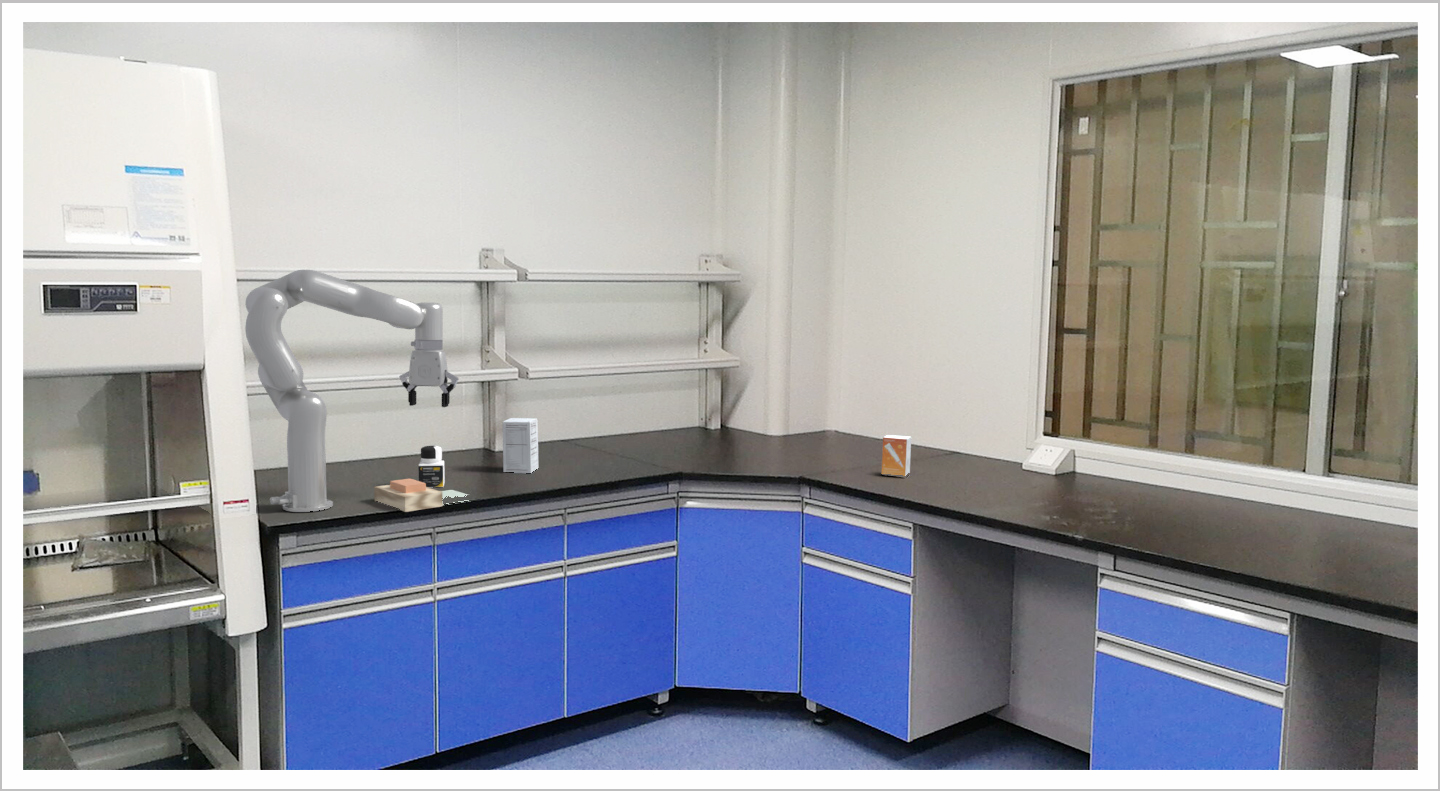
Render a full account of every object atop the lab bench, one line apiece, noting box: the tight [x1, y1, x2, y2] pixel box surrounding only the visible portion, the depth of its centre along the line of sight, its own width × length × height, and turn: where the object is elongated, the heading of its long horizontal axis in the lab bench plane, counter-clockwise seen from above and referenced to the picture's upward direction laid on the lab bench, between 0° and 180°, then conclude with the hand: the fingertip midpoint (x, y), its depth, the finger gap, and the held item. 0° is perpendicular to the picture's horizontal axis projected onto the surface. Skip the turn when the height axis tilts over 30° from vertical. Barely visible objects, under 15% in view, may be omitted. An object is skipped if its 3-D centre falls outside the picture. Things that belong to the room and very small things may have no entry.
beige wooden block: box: [373, 484, 444, 513], centre depth 295 cm, size 11×18×4 cm, turn 44°
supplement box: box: [502, 417, 539, 474], centre depth 345 cm, size 10×9×17 cm
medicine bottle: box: [417, 445, 446, 489], centre depth 319 cm, size 7×7×12 cm
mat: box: [440, 489, 470, 506], centre depth 303 cm, size 12×16×1 cm
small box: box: [880, 434, 912, 476], centre depth 347 cm, size 8×6×13 cm
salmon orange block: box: [389, 478, 426, 493], centre depth 294 cm, size 9×6×2 cm, turn 44°
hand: (428, 405), depth 305 cm, fingers open, 9 cm apart
